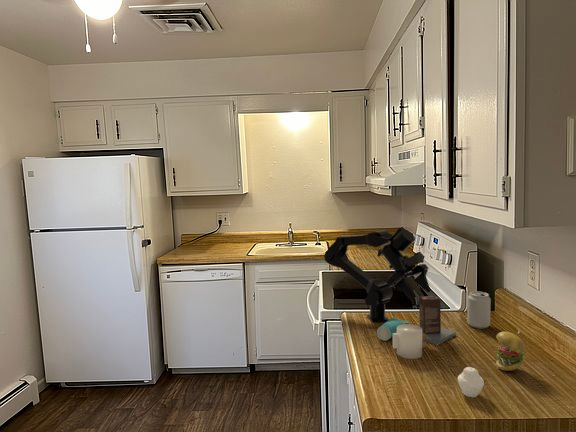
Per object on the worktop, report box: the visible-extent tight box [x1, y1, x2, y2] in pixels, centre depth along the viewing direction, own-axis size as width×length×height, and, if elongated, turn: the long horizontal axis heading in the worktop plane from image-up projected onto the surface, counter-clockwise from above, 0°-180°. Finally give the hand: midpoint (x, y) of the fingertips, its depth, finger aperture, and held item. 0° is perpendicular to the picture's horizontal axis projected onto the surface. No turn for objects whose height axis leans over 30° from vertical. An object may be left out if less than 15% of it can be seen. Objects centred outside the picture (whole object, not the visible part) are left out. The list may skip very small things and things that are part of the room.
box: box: [418, 295, 442, 334], centre depth 141 cm, size 6×4×12 cm
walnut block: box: [422, 333, 428, 349], centre depth 133 cm, size 4×4×4 cm
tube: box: [376, 317, 411, 342], centre depth 145 cm, size 7×5×19 cm
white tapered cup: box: [392, 323, 423, 360], centre depth 127 cm, size 9×8×8 cm
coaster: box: [417, 324, 457, 346], centre depth 142 cm, size 12×12×1 cm
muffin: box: [457, 366, 485, 398], centre depth 104 cm, size 6×6×7 cm
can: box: [466, 290, 492, 330], centre depth 149 cm, size 8×8×12 cm
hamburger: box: [495, 329, 526, 372], centre depth 116 cm, size 8×7×12 cm
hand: (422, 294), depth 143 cm, fingers open, 9 cm apart
